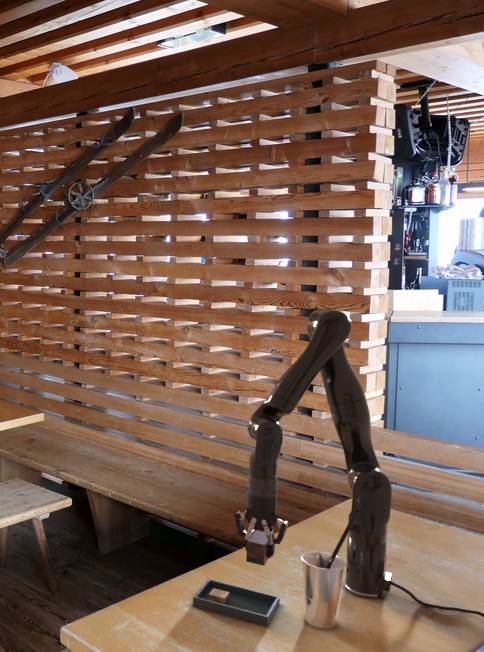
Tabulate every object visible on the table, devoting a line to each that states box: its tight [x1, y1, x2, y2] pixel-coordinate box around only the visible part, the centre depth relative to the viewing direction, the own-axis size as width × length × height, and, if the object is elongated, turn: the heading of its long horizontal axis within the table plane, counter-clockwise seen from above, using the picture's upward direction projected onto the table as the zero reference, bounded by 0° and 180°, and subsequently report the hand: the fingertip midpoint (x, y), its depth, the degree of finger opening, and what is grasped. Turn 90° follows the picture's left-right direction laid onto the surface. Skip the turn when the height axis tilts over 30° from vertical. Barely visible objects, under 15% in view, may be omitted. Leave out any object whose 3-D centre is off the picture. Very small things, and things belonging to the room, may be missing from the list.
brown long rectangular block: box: [245, 529, 270, 566], centre depth 195 cm, size 4×9×6 cm, turn 148°
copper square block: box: [209, 588, 229, 604], centre depth 187 cm, size 4×4×2 cm
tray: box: [192, 578, 281, 627], centre depth 185 cm, size 18×12×2 cm
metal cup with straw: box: [299, 509, 359, 630], centre depth 176 cm, size 11×11×30 cm
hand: (259, 554), depth 195 cm, fingers closed on brown long rectangular block, 4 cm apart
